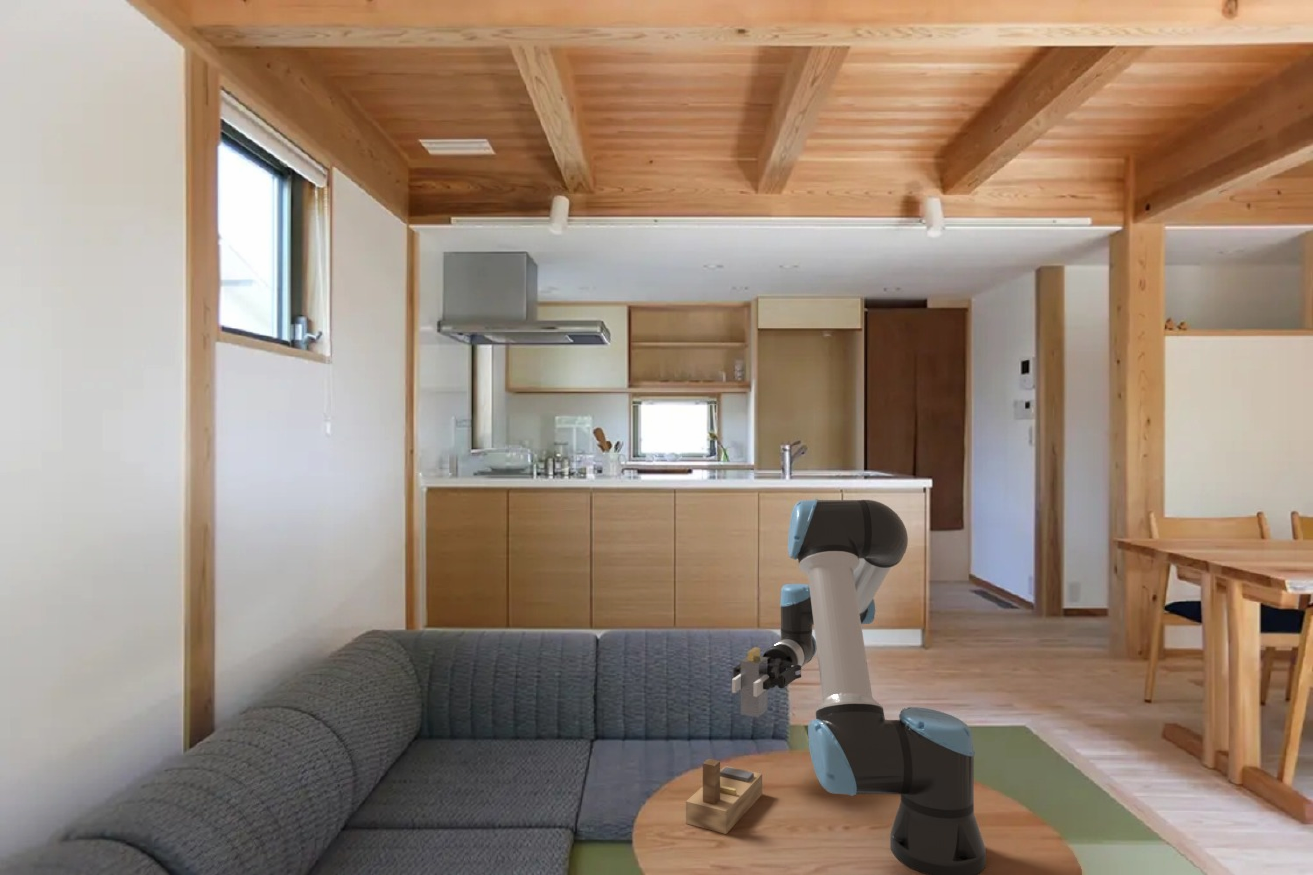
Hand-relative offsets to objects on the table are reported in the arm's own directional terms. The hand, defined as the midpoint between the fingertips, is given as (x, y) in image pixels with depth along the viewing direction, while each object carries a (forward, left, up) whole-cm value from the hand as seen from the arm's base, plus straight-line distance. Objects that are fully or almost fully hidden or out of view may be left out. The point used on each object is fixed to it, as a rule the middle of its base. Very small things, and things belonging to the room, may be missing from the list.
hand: (744, 687), depth 154 cm
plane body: (0, +10, -20) cm, 23 cm away
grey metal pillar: (0, -5, -6) cm, 8 cm away
